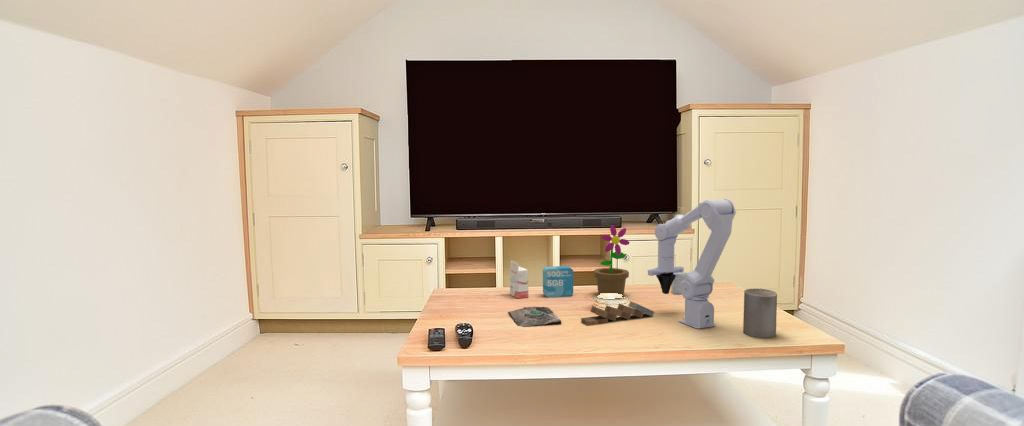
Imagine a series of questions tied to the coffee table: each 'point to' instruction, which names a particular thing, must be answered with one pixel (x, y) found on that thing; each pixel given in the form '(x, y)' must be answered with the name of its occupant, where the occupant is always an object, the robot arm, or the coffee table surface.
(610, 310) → the tile
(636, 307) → the tile
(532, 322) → the terrain model
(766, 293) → the pillar candle
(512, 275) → the ink cartridge box
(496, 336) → the coffee table surface
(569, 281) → the data package
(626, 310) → the tile
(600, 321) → the tile
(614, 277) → the flowerpot
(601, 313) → the tile
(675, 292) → the medicine box
